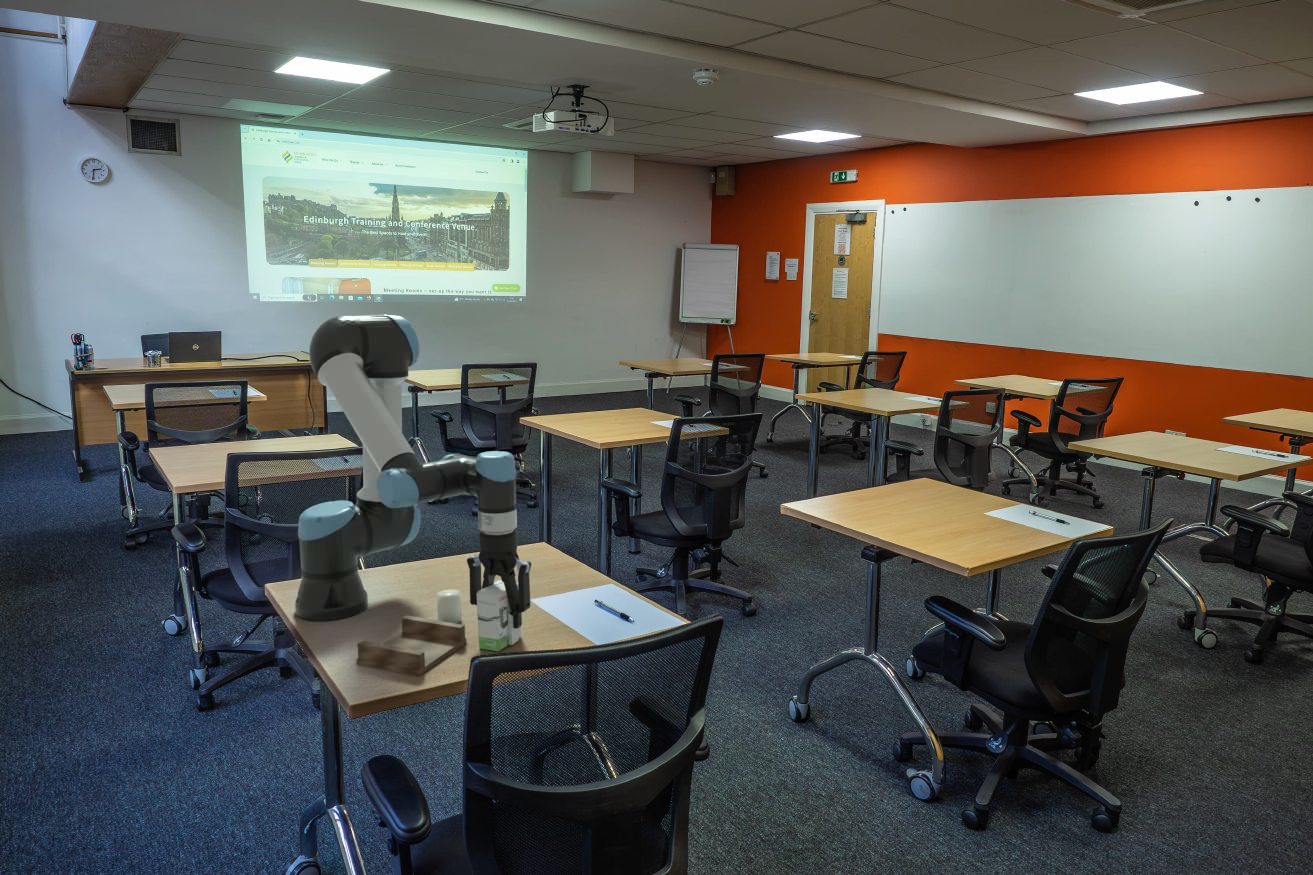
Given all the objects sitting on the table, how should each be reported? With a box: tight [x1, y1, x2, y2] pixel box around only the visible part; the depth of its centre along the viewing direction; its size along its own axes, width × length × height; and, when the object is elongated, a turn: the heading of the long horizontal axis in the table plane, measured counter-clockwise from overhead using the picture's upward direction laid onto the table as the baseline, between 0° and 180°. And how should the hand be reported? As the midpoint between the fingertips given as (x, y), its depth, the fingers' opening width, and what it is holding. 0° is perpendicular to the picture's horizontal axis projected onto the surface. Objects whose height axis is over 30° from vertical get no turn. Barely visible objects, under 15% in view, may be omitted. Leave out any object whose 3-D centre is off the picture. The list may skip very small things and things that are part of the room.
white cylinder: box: [436, 589, 463, 624], centre depth 181 cm, size 5×5×6 cm
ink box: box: [476, 579, 522, 652], centre depth 169 cm, size 9×5×12 cm, turn 156°
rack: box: [356, 614, 468, 677], centre depth 165 cm, size 14×16×4 cm
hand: (501, 639), depth 171 cm, fingers closed on ink box, 5 cm apart
